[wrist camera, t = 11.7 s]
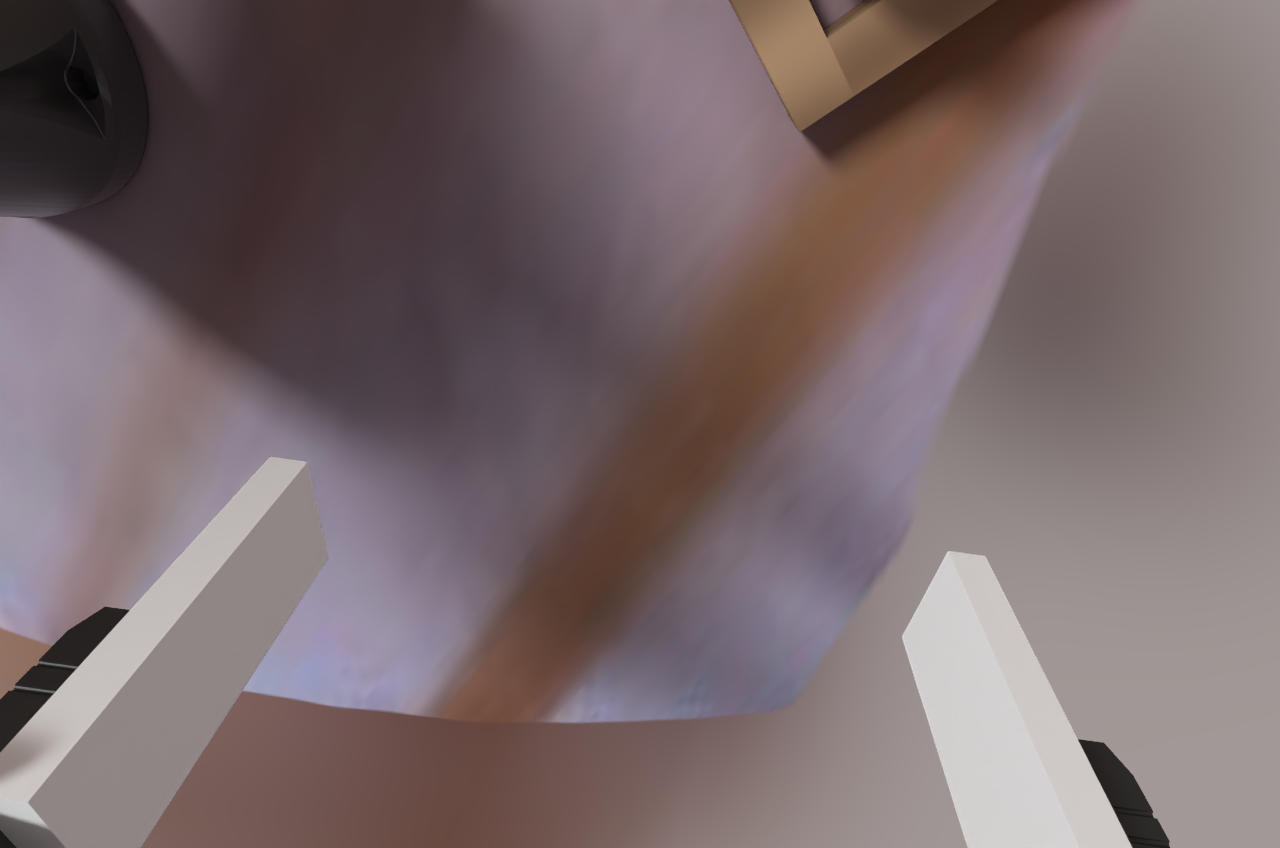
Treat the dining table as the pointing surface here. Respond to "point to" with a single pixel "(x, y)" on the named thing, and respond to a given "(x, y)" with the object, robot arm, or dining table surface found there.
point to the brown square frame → (842, 46)
